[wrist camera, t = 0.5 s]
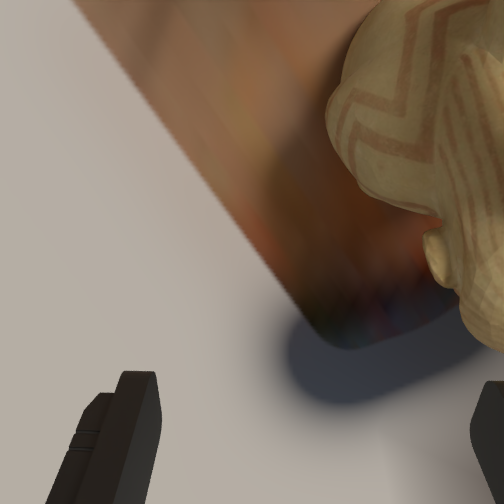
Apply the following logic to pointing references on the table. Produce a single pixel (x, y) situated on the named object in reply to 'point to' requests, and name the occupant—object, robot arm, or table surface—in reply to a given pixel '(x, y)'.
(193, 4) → the table surface
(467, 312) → the ceramic vessel
